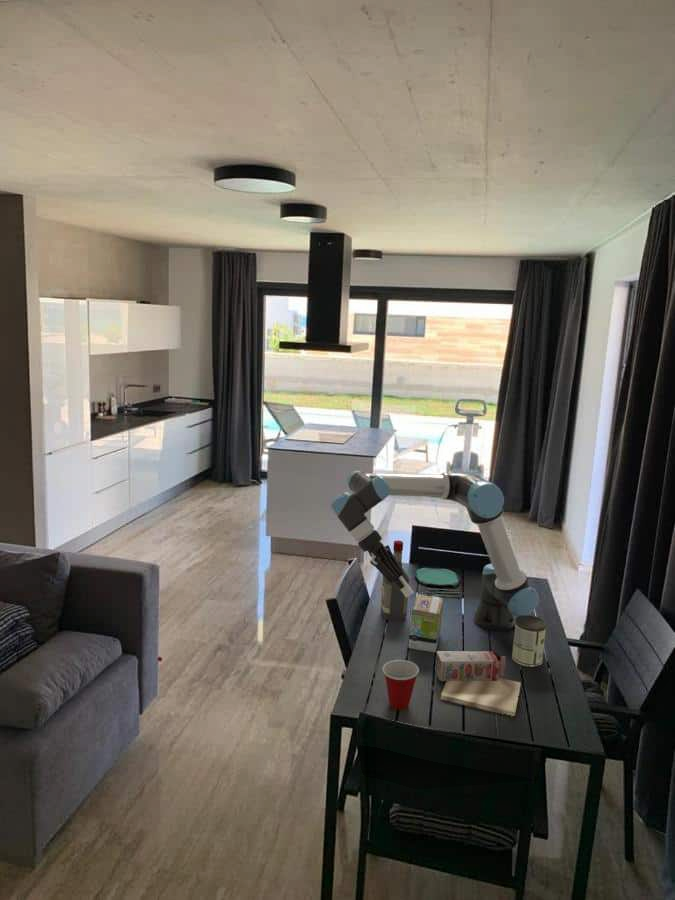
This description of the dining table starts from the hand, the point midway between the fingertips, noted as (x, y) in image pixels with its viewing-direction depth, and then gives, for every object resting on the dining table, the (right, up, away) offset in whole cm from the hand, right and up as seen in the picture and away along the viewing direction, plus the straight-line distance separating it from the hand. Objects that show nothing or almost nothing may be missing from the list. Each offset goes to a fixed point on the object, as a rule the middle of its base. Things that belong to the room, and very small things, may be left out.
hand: (409, 594), depth 216 cm
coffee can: (+42, -26, +15) cm, 51 cm away
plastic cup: (-5, -30, -16) cm, 34 cm away
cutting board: (+21, -29, -8) cm, 37 cm away
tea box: (+8, -22, +24) cm, 34 cm away
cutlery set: (+21, -13, +78) cm, 82 cm away
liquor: (-2, -18, +44) cm, 48 cm away
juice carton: (+9, -22, -2) cm, 24 cm away
